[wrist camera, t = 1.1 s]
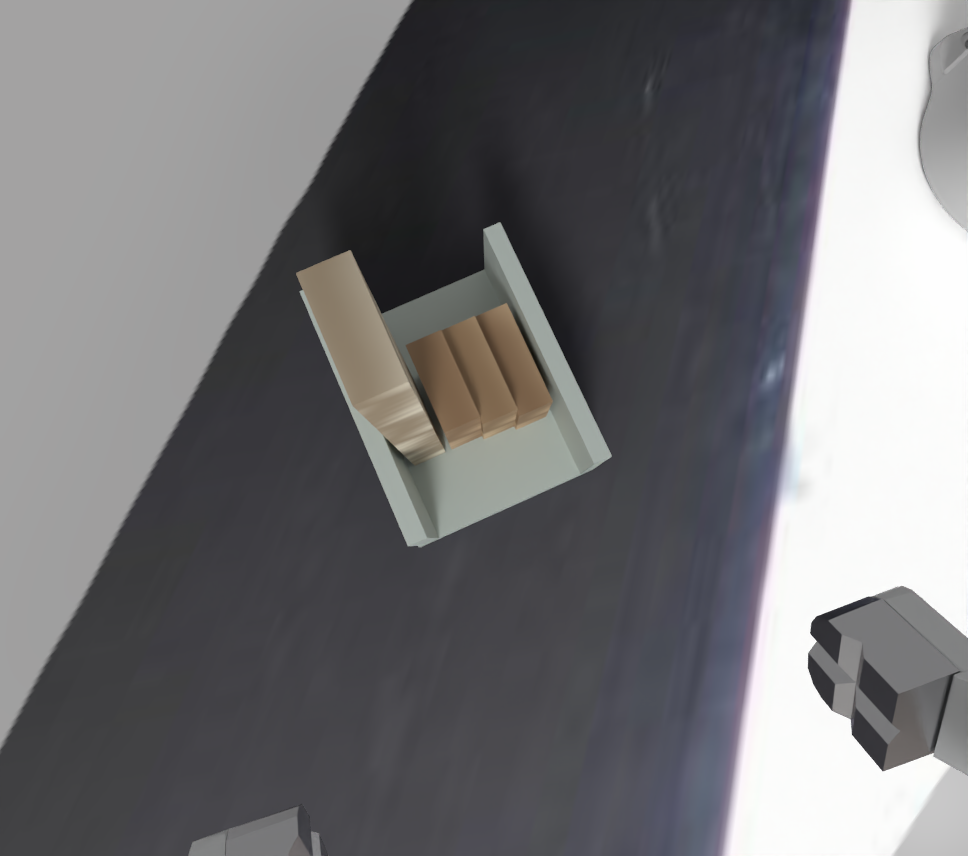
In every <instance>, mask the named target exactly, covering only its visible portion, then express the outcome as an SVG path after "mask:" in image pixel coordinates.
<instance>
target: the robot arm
mask: <svg viewBox="0 0 968 856" xmlns="http://www.w3.org/2000/svg"><path fill="white" fill-rule="evenodd" d="M965 46H966V47H968V28H965V29H963V30H960V31H958V32H955V33H953V34H950V35H948V36H947V37H945V38H944V39H943V40H942V41H940V42H939V43H938V44H937V45H936V46H935V47H934V48H933V49H932V51H931V54H930V75H931V82H932V93H931V97H930V101H929V103H928V106H927V109H926V112H925V115H924V118H923V122H922V127H921V135H920V151H921V159H922V164H923V168H924V172H925V175H926V178H927V180H928V183H929V185H930V187H931V189H932V191H933V193H934V195H935V196H936V198H937V200H938V201H939V203H940V204H941V205H942V207H943V208H944V209H945V211H946V212H947V213H948V214H949V215H950V216H951V217H952V218H953V219H954V220H955V221H956V222H957V223H958V224H959V225H960V226H961V227H962V228H963V229H965V230H966V231H967V232H968V49H967V48H966V47H965ZM810 634H811V635H812V636H813V637H814V638H815V639H816V641H817V642H816V643H815V645H814V646H813V647H812V649H811V650H810V652H809V653H808V669H809V672H810V675H811V678H812V681H813V684H814V686H815V688H816V689H817V691H818V693H819V694H820V696H821V698H822V699H823V700H824V701H825V703H826V704H827V705H828V706H829V707H830V709H831V710H832V711H834V712H836V713H838V714H840V715H843V716H845V717H847V718H849V719H851V728H852V735H853V736H854V738H855V739H856V740H857V741H858V742H859V744H860V745H861V746H862V747H863V748H864V750H865V751H866V752H867V753H868V754H869V755H870V757H871V758H872V759H873V760H874V761H875V763H876V764H877V765H878V766H879V767H880V769H881V770H882V771H885V770H888V769H891V768H894V767H896V766H899V765H902V764H905V763H907V762H910V761H913V760H915V759H918V758H921V757H924V756H926V755H929V754H932V753H934V755H933V756H934V757H935V758H937V759H939V760H941V761H943V762H944V763H946V764H948V765H950V766H952V767H953V768H955V769H957V770H959V771H961V772H963V773H964V774H966V775H968V638H967V637H966V636H965V635H963V634H962V633H961V632H960V631H959V630H958V629H957V628H955V627H954V626H953V625H952V624H951V623H950V622H948V621H947V620H946V619H945V618H944V617H943V616H941V615H940V614H939V613H938V612H937V611H936V610H935V609H933V608H932V607H931V606H930V605H929V604H928V603H926V602H925V601H924V600H923V599H922V598H921V597H919V596H918V595H917V594H916V593H915V592H914V591H912V590H911V589H909V588H906V587H904V586H900V587H895V588H893V589H890V590H887V591H885V592H882V593H880V594H877V595H875V596H872V597H866V598H864V599H861V600H858V601H856V602H853V603H851V604H848V605H845V606H843V607H840V608H837V609H835V610H832V611H830V612H827V613H824V614H822V615H819V616H817V617H816V618H815V619H814V620H813V621H812V623H811V632H810ZM188 856H328V854H327V851H326V848H325V845H324V843H323V841H322V839H321V837H320V835H319V834H318V833H315V832H312V831H311V826H310V816H309V814H308V813H307V811H306V809H305V808H304V806H303V804H300V805H298V806H295V807H292V808H289V809H286V810H283V811H280V812H277V813H274V814H272V815H269V816H266V817H263V818H260V819H257V820H254V821H251V822H249V823H246V824H243V825H240V826H237V827H234V828H230V829H227V830H224V831H222V832H219V833H216V834H213V835H211V836H208V837H205V838H202V839H200V840H197V841H194V842H193V843H192V846H191V849H190V852H189V855H188Z"/></svg>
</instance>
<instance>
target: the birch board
mask: <svg viewBox="0 0 968 856" xmlns="http://www.w3.org/2000/svg"><path fill="white" fill-rule="evenodd" d="M296 275H297V277H298V279H299V282H300V284H301V286H302V289H303V291H304V293H305V296H306V298H307V300H308V303H309V305H310V307H311V310H312V312H313V314H314V317H315V319H316V321H317V324H318V326H319V328H320V331H321V333H322V336H323V338H324V340H325V343H326V345H327V347H328V350H329V352H330V354H331V357H332V359H333V361H334V364H335V366H336V368H337V371H338V373H339V375H340V378H341V380H342V382H343V385H344V387H345V389H346V392H347V394H348V396H349V399H350V401H351V404H352V406H353V407H354V408H355V409H356V410H357V411H358V412H359V413H361V414H362V415H363V416H364V417H365V418H366V419H367V420H368V421H369V422H370V423H371V424H372V425H373V426H374V427H375V428H376V429H377V430H378V431H379V432H380V433H381V434H382V435H383V436H384V437H385V438H387V439H388V440H389V441H390V442H391V443H392V444H393V445H394V446H395V447H396V448H397V449H398V450H399V451H400V452H401V453H402V454H403V455H404V456H405V457H406V458H407V459H408V460H409V461H410V462H411V463H413V464H414V465H415V466H416V465H418V464H420V463H423V462H425V461H427V460H429V459H432V458H434V457H436V456H438V455H441V454H443V453H445V450H444V447H443V445H442V443H441V441H440V438H439V436H438V434H437V432H436V429H435V427H434V425H433V423H432V420H431V418H430V416H429V414H428V411H427V409H426V407H425V404H424V402H423V400H422V398H421V395H420V393H419V391H418V389H417V386H416V384H415V382H414V380H413V377H412V375H411V373H410V371H409V369H408V367H407V365H406V363H405V361H404V359H403V357H402V355H401V353H400V351H399V349H398V347H397V345H396V342H395V340H394V338H393V336H392V334H391V332H390V330H389V328H388V326H387V324H386V322H385V320H384V318H383V316H382V314H381V312H380V310H379V308H378V306H377V304H376V301H375V299H374V297H373V295H372V293H371V291H370V289H369V287H368V285H367V283H366V281H365V279H364V277H363V275H362V273H361V271H360V269H359V267H358V265H357V263H356V260H355V258H354V256H353V254H352V252H351V250H349V251H347V252H345V253H342V254H340V255H338V256H335V257H333V258H330V259H328V260H326V261H323V262H321V263H319V264H316V265H314V266H312V267H309V268H307V269H305V270H302V271H300V272H298V273H296Z"/></svg>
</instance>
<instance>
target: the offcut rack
mask: <svg viewBox="0 0 968 856" xmlns="http://www.w3.org/2000/svg"><path fill="white" fill-rule="evenodd" d="M483 232H484V270H482V271H480V272H478V273H475V274H473V275H471V276H468V277H466V278H464V279H461V280H459V281H457V282H454V283H452V284H450V285H447V286H445V287H443V288H440V289H438V290H436V291H434V292H431V293H429V294H427V295H424V296H422V297H420V298H417V299H415V300H413V301H410V302H408V303H406V304H403V305H401V306H399V307H396V308H394V309H392V310H389V311H387V312H385V313H382V316H383V318H384V320H385V322H386V324H387V326H388V328H389V330H390V332H391V334H392V336H393V338H394V340H395V342H396V345H397V347H398V349H399V351H400V353H401V355H402V357H403V359H404V361H405V363H406V365H407V367H408V369H409V371H410V373H411V375H412V377H413V380H414V382H415V384H416V386H417V389H418V391H419V393H420V395H421V398H422V400H423V402H424V404H425V407H426V409H427V411H428V414H429V416H430V418H431V420H432V423H433V425H434V427H435V429H436V432H437V434H438V436H439V438H440V441H441V443H442V445H443V447H444V450H445V453H443V454H441V455H438V456H436V457H434V458H432V459H429V460H427V461H425V462H423V463H420V464H418V465H416V466H415V465H414V464H413V463H411V462H410V461H409V460H408V459H407V458H406V457H405V456H404V455H403V454H402V453H401V452H400V451H399V450H398V449H397V448H396V447H395V446H394V445H393V444H392V443H391V442H390V441H389V440H388V439H387V438H385V437H384V436H383V435H382V434H381V433H380V432H379V431H378V430H377V429H376V428H375V427H374V426H373V425H372V424H371V423H370V422H369V421H368V420H367V419H366V418H365V417H364V416H363V415H362V414H361V413H359V412H358V411H357V410H356V409H355V408H354V407H353V406H352V404H351V401H350V399H349V396H348V394H347V392H346V389H345V387H344V385H343V382H342V380H341V378H340V375H339V373H338V371H337V368H336V366H335V364H334V361H333V359H332V357H331V354H330V352H329V350H328V347H327V345H326V343H325V340H324V338H323V336H322V333H321V331H320V328H319V326H318V324H317V321H316V319H315V317H314V314H313V312H312V310H311V307H310V305H309V303H308V300H307V298H306V296H305V293H304V291H303V290H302V291H300V294H301V296H302V298H303V301H304V303H305V305H306V308H307V310H308V312H309V315H310V317H311V319H312V322H313V324H314V327H315V329H316V331H317V334H318V336H319V338H320V341H321V343H322V345H323V348H324V350H325V352H326V355H327V357H328V359H329V362H330V364H331V366H332V369H333V371H334V374H335V376H336V378H337V381H338V383H339V385H340V388H341V390H342V392H343V395H344V397H345V399H346V402H347V404H348V406H349V409H350V411H351V414H352V416H353V418H354V421H355V423H356V425H357V428H358V430H359V432H360V435H361V437H362V439H363V442H364V444H365V446H366V449H367V451H368V453H369V456H370V458H371V461H372V463H373V465H374V468H375V470H376V472H377V475H378V477H379V479H380V482H381V484H382V486H383V489H384V491H385V493H386V496H387V498H388V500H389V503H390V505H391V508H392V510H393V512H394V515H395V517H396V519H397V522H398V524H399V526H400V529H401V531H402V533H403V536H404V538H405V540H406V543H407V545H408V546H418V547H422V546H424V545H427V544H429V543H431V542H433V541H435V540H438V539H440V538H442V537H444V536H447V535H449V534H451V533H453V532H455V531H458V530H460V529H462V528H464V527H467V526H469V525H471V524H473V523H475V522H478V521H480V520H482V519H484V518H487V517H489V516H491V515H493V514H495V513H498V512H500V511H502V510H504V509H507V508H509V507H511V506H513V505H515V504H518V503H520V502H522V501H524V500H527V499H529V498H531V497H533V496H535V495H538V494H540V493H542V492H544V491H546V490H549V489H551V488H553V487H555V486H558V485H560V484H562V483H564V482H566V481H569V480H571V479H573V478H575V477H578V476H580V475H582V474H584V473H586V472H589V471H591V470H593V469H594V468H596V467H597V466H599V465H600V464H601V463H603V462H604V461H606V460H607V459H609V458H610V457H612V456H611V453H610V451H609V449H608V447H607V445H606V443H605V441H604V439H603V437H602V435H601V432H600V430H599V428H598V426H597V424H596V422H595V420H594V418H593V416H592V414H591V412H590V409H589V407H588V405H587V403H586V401H585V399H584V397H583V395H582V393H581V391H580V388H579V386H578V384H577V382H576V380H575V378H574V376H573V374H572V372H571V370H570V367H569V365H568V363H567V361H566V359H565V357H564V355H563V353H562V351H561V349H560V346H559V344H558V342H557V340H556V338H555V336H554V334H553V332H552V330H551V328H550V325H549V323H548V321H547V319H546V317H545V315H544V313H543V311H542V309H541V307H540V304H539V302H538V300H537V298H536V296H535V294H534V292H533V290H532V288H531V286H530V284H529V281H528V279H527V277H526V275H525V273H524V271H523V269H522V267H521V265H520V263H519V260H518V258H517V256H516V254H515V252H514V250H513V248H512V246H511V244H510V242H509V239H508V237H507V235H506V233H505V231H504V229H503V227H502V225H501V223H500V222H499V223H497V224H495V225H492V226H490V227H488V228H485V229H483ZM505 303H507V305H508V307H509V309H510V311H511V313H512V315H513V317H514V319H515V322H516V324H517V326H518V328H519V330H520V332H521V334H522V336H523V339H524V341H525V343H526V345H527V347H528V349H529V351H530V354H531V356H532V358H533V360H534V362H535V364H536V366H537V368H538V371H539V373H540V375H541V377H542V379H543V381H544V383H545V385H546V388H547V390H548V392H549V394H550V396H551V398H552V400H553V402H552V404H551V407H550V409H549V411H548V413H547V416H546V417H544V418H542V419H540V420H537V421H535V422H533V423H531V424H528V425H526V426H524V427H522V428H519V429H517V430H516V429H515V427H511V428H509V429H507V430H505V431H502V432H500V433H498V434H496V435H493V436H491V437H489V438H487V439H483V437H482V436H481V437H479V438H477V439H474V440H472V441H470V442H468V443H465V444H463V445H461V446H459V447H456V448H454V449H451V447H450V445H449V442H448V440H447V438H446V436H445V433H444V431H443V429H442V427H441V424H440V422H439V420H438V418H437V415H436V413H435V411H434V409H433V406H432V404H431V402H430V400H429V397H428V395H427V393H426V391H425V388H424V386H423V384H422V382H421V379H420V377H419V375H418V373H417V370H416V368H415V366H414V363H413V361H412V359H411V357H410V354H409V352H408V350H407V348H406V345H407V344H409V343H412V342H414V341H416V340H418V339H421V338H423V337H425V336H428V335H430V334H432V333H435V332H437V331H439V330H444V329H446V328H448V327H450V326H453V325H455V324H457V323H460V322H462V321H464V320H467V319H469V318H471V317H473V316H478V315H480V314H482V313H485V312H487V311H489V310H492V309H494V308H496V307H498V306H501V305H503V304H505Z"/></svg>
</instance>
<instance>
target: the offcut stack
mask: <svg viewBox="0 0 968 856" xmlns="http://www.w3.org/2000/svg"><path fill="white" fill-rule="evenodd" d="M406 348H407V350H408V352H409V354H410V357H411V359H412V361H413V363H414V366H415V368H416V370H417V373H418V375H419V377H420V379H421V382H422V384H423V386H424V388H425V391H426V393H427V395H428V397H429V400H430V402H431V404H432V406H433V409H434V411H435V413H436V415H437V418H438V420H439V422H440V424H441V427H442V429H443V431H444V433H445V436H446V438H447V440H448V442H449V445H450V447H451V449H454V448H456V447H459V446H461V445H463V444H465V443H468V442H470V441H472V440H474V439H477V438H479V437H481V436H482V437H483V439H487V438H489V437H491V436H493V435H496V434H498V433H500V432H502V431H505V430H507V429H509V428H511V427H515V429H516V430H517V429H519V428H522V427H524V426H526V425H528V424H531V423H533V422H535V421H537V420H540V419H542V418H544V417H546V416H547V413H548V411H549V409H550V407H551V404H552V402H553V400H552V398H551V396H550V394H549V392H548V390H547V388H546V385H545V383H544V381H543V379H542V377H541V375H540V373H539V371H538V368H537V366H536V364H535V362H534V360H533V358H532V356H531V354H530V351H529V349H528V347H527V345H526V343H525V341H524V339H523V336H522V334H521V332H520V330H519V328H518V326H517V324H516V322H515V319H514V317H513V315H512V313H511V311H510V309H509V307H508V305H507V303H505V304H503V305H501V306H498V307H496V308H494V309H492V310H489V311H487V312H485V313H482V314H480V315H478V316H473V317H471V318H469V319H467V320H464V321H462V322H460V323H457V324H455V325H453V326H450V327H448V328H446V329H444V330H439V331H437V332H435V333H432V334H430V335H428V336H425V337H423V338H421V339H418V340H416V341H414V342H412V343H409V344H407V345H406Z"/></svg>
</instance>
